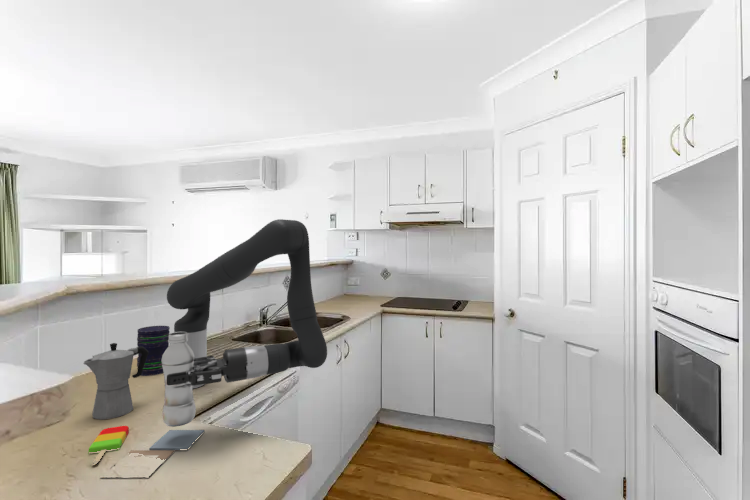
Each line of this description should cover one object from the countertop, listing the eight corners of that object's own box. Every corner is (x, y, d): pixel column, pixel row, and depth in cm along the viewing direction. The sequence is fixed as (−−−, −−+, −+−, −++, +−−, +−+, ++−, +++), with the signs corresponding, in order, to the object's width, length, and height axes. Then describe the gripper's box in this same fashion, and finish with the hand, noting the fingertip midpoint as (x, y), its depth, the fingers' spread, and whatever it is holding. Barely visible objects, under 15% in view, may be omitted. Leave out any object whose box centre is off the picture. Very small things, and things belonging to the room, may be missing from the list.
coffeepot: (93, 426, 90) (93, 351, 90) (74, 417, 95) (74, 346, 95) (157, 403, 103) (157, 338, 103) (138, 397, 108) (138, 334, 108)
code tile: (131, 452, 79) (131, 450, 79) (174, 452, 79) (174, 450, 79) (100, 478, 70) (100, 476, 70) (148, 478, 70) (148, 476, 70)
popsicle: (130, 432, 88) (130, 424, 88) (111, 466, 74) (111, 456, 74) (102, 436, 86) (102, 428, 86) (77, 472, 72) (77, 462, 72)
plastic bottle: (182, 431, 79) (181, 337, 79) (154, 429, 81) (153, 336, 81) (202, 418, 86) (201, 330, 86) (176, 416, 87) (175, 329, 87)
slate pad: (169, 432, 87) (169, 429, 87) (204, 432, 87) (204, 429, 87) (149, 450, 79) (149, 448, 79) (187, 450, 79) (187, 448, 79)
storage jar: (175, 367, 135) (176, 325, 135) (157, 376, 125) (157, 331, 125) (150, 366, 136) (150, 325, 136) (129, 375, 126) (130, 331, 126)
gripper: (239, 341, 97) (165, 350, 88) (252, 354, 84) (167, 367, 76) (239, 370, 97) (165, 382, 88) (252, 388, 84) (167, 404, 76)
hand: (166, 375), depth 82 cm, fingers closed on plastic bottle, 6 cm apart
